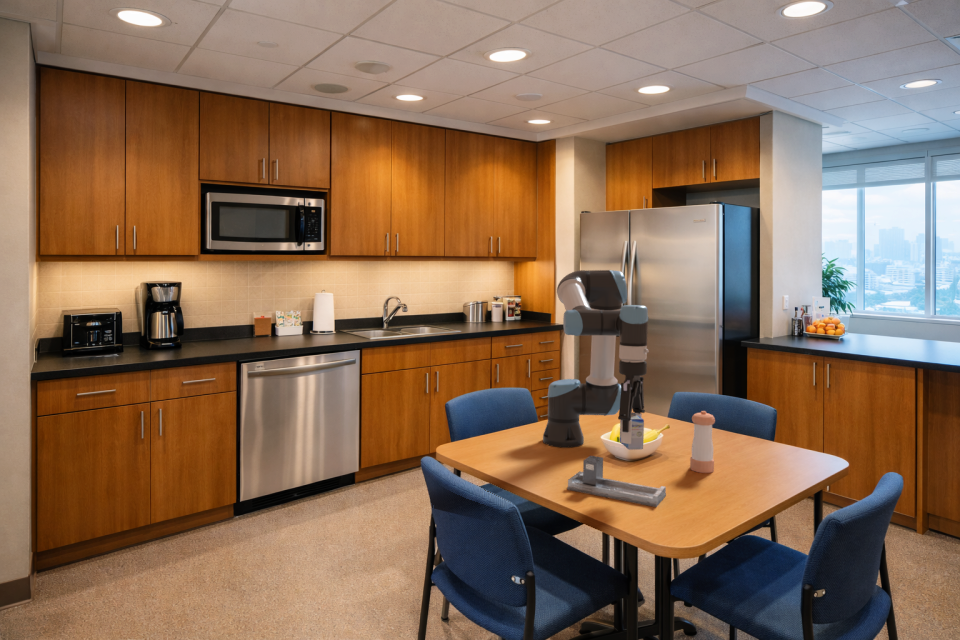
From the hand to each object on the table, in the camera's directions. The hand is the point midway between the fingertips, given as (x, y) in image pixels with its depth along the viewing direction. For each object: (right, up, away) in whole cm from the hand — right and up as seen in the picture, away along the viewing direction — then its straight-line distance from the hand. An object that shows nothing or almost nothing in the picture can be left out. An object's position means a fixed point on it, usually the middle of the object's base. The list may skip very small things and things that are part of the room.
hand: (631, 438), depth 174 cm
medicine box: (0, -2, 0) cm, 2 cm away
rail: (-4, -16, +3) cm, 17 cm away
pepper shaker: (+29, -15, +24) cm, 41 cm away
